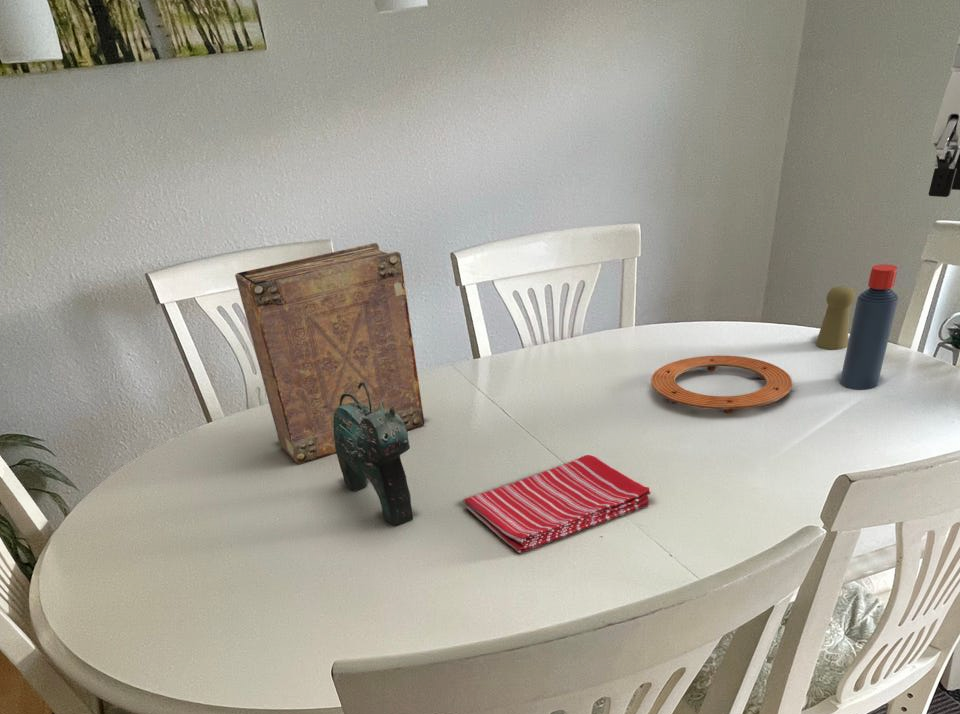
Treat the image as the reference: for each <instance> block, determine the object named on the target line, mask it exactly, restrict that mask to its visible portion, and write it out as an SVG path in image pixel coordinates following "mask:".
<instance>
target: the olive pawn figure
mask: <svg viewBox="0 0 960 714" xmlns="http://www.w3.org/2000/svg"><path fill="white" fill-rule="evenodd" d="M825 300H826V304H827V308H826V311H825V314H824V317H823V320H822V323H821V326H820V330H819V332H818V335H817V338H816V342H815V346H817V347H818V348H820V349H823V350H843V349H845V348H847V346H848V341H849V330H850V329H849V328H850V314H851V306H852V305H853V304H854V302H855V300H856V292H855V289H854V288H852V287H850V286H844V285H843V286H841V285H840V286H835V287H832V288H831V289H830V290H829V291H828V292H827V294H826V299H825Z"/></svg>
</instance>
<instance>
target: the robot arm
mask: <svg viewBox="0 0 960 714" xmlns="http://www.w3.org/2000/svg"><path fill="white" fill-rule="evenodd" d="M953 55H954V56H953V59H952V64H951V68H950V71H951V72H952V73H951V75H950V77H949V81H948V83H947V86H946V89H945V92H944V95H943V99H942V101H941V104H940V108H939V112H938V115H937V119H936V122H935V126H934V130H933V132H932V136H931V140H930V141H931V142H930V143H931V145H932V147H935V152H936V161H935V163H934V169H933V174H932V178H931V182H930V186H929V191H928V196H929V197H938V198H939V197H940V198H948V197H950V195H951V194H952V193H951V192H952V190H954V191H960V33H959V35H958V38H957V43H956V47H955V52H954V54H953ZM951 143H955V145H954V144H951ZM952 152H953V153H952Z"/></svg>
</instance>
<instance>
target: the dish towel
mask: <svg viewBox="0 0 960 714" xmlns="http://www.w3.org/2000/svg"><path fill="white" fill-rule="evenodd" d="M648 495H651V491H650V487H649V486H644V485H643V484H641V483H639V482H638V481H636V480H634V479H632V478H630V477H629V476H627V475H625V474H624V473H622V472H620V471H618V470H616V469H615V468H613V467H611V466H610V465H609V464H607V463H605V462H603V461H602V460H600V459H599V458H598V457H596V456H594V455H590V454H586V455H583V456H581V457H579V458H576V459H574V460H571V461H570V462H567V463H564V464H559V465H558V466H555V467H553V468H550V469H546V470H544V471H542V472H539V473H536V474H533V475H530V476H528V477H525V478H523V479H519V480H517V481H515V482H512V483H509V484H505V485H502V486H501V487H497V488H494V489H491V490H487V491H485V492H481V493H476V494H474V495H472V496H469V497H466V498H464V499H463V500H462V502H463V504H464V506H465V509H467V510H468V511H469V512H471V513H472V514H473V515H474V516H475V517H476V518H477V519H478V520H480V521H481V522H482V523H483V524H484V525H486V526H487V527H488V528H489V529H490V530H491V531H492V532H494V534H496V535H497V536H498V537H499V538H500V539H501V540H503V541H504V542H505V543H506V544H507V545H509V546H511V548H513V549H514V550H515V551H516V552H517V553H520V554H521V553H522V554H523V553H524V552H527V551H530V550H533V549H535V548H538V547H541V546H543V545H546V544H549V543H551V542H553V541H556V540H559V539H563V538H565V537H567V536H569V535H570V536H571V535H572V534H575V533H579V532H581V531H582V530H585V529H588V528H589V529H590V528H592V527H595V526H597V525H599V524H602V523H605V522H608V521H610V520H612V519H615V518H618V517H621V516H625V515H626V514H629V513H632V512H635V511H637V510H640V509H642V508H645V507H648V506H649V505H650V500H649V496H648Z"/></svg>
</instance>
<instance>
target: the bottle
mask: <svg viewBox="0 0 960 714" xmlns="http://www.w3.org/2000/svg"><path fill="white" fill-rule="evenodd" d="M898 301H899V296H898V294H897V293H896V292H894V291H893V289H892V288H890V289H873V288H870V287H868V288H866V290H863V292H861V293H860V294H859V295H858V296H857V299H856V304H855V309H854V313H853V317H852V323H851V328H850V332H849V335H848V344H847V347H846V351H845V355H844V361H843V365H842V370H841V374H840V379H839V383H840V385H841V386H842V387H845V388H848V389H852V390H870V389H874V388H876V387H877V386H878V383H879V380H880V376H881V372H882V367H883V364H884V359H885V357H886V351H887V347H888V343H889V338H890V335H891V331H892V326H893V322H894V318H895V314H896V310H897V306H898Z"/></svg>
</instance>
